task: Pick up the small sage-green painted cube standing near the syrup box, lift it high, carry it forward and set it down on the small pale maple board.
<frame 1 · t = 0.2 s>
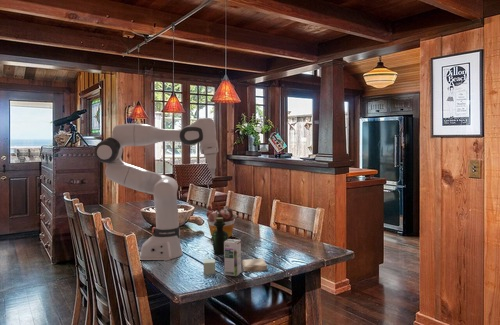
hand: (213, 177, 197), 39 cm above the table, tool pointing down, fingers open, 8 cm apart
potion bottle: (220, 253, 198), on the table
maple board: (254, 266, 176), on the table
sage cube: (209, 272, 171), on the table
bucket of meat: (221, 236, 232), on the table
syrup box: (233, 274, 168), on the table
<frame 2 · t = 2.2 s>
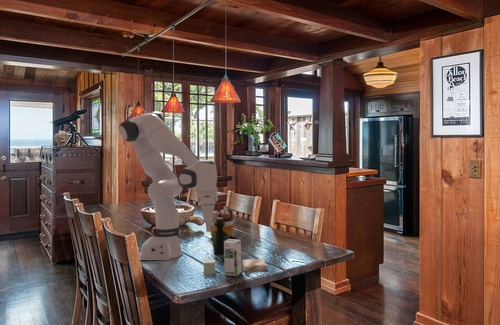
hand: (208, 228, 170), 19 cm above the table, tool pointing down, fingers open, 8 cm apart
nothing on the table moved.
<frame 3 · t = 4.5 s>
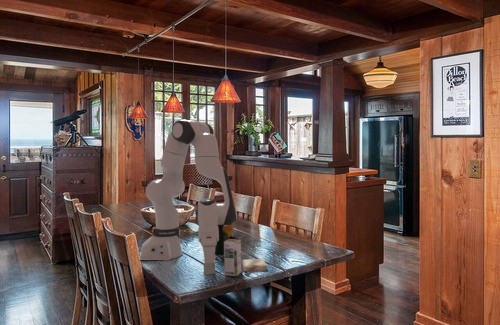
hand: (209, 268, 171), 2 cm above the table, tool pointing down, fingers closed on sage cube, 5 cm apart
sage cube: (209, 272, 171), on the table, touching gripper
everything else where it was.
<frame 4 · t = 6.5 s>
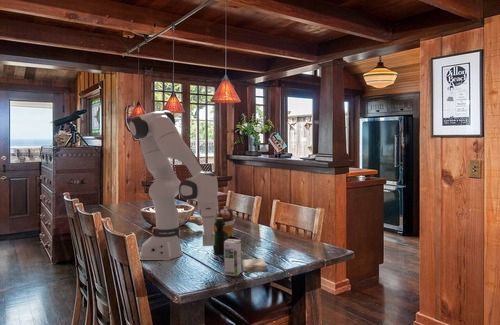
hand: (208, 240, 170), 14 cm above the table, tool pointing down, fingers closed on sage cube, 5 cm apart
sage cube: (208, 244, 171), point 12 cm above the table, touching gripper
everything else where it was.
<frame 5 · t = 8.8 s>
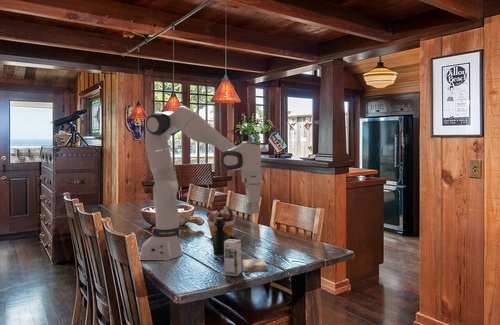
hand: (252, 208, 175), 26 cm above the table, tool pointing down, fingers closed on sage cube, 5 cm apart
sage cube: (252, 212, 175), point 25 cm above the table, touching gripper
everything else where it was.
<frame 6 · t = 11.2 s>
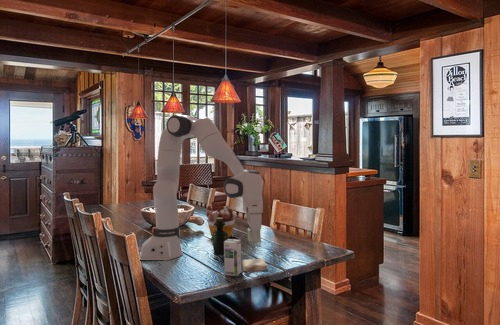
hand: (253, 236, 176), 14 cm above the table, tool pointing down, fingers closed on sage cube, 5 cm apart
sage cube: (254, 240, 176), point 12 cm above the table, touching gripper
everything else where it was.
when the fingers open (5 cm above the table, at t = 13.3 s): sage cube drops 1 cm, resting on maple board.
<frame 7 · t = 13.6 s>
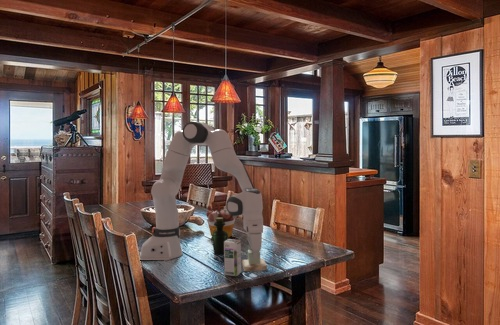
hand: (253, 255, 176), 5 cm above the table, tool pointing down, fingers open, 8 cm apart
sage cube: (254, 262, 176), point 2 cm above the table, touching maple board
everything else where it was.
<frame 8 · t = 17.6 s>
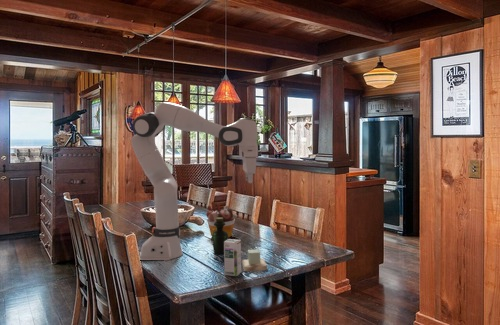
hand: (249, 181, 186), 37 cm above the table, tool pointing down, fingers open, 8 cm apart
nothing on the table moved.
at the end: sage cube inside the target area on the maple board (0.0 cm from its centre), point 2.2 cm above the maple board's base; the gripper is holding nothing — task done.
